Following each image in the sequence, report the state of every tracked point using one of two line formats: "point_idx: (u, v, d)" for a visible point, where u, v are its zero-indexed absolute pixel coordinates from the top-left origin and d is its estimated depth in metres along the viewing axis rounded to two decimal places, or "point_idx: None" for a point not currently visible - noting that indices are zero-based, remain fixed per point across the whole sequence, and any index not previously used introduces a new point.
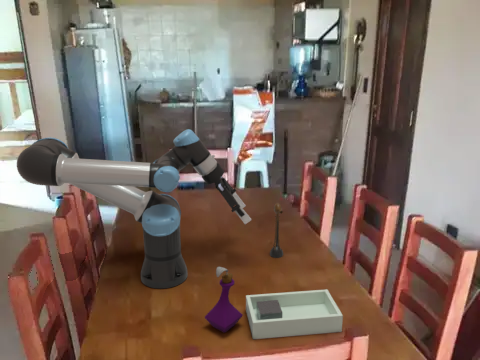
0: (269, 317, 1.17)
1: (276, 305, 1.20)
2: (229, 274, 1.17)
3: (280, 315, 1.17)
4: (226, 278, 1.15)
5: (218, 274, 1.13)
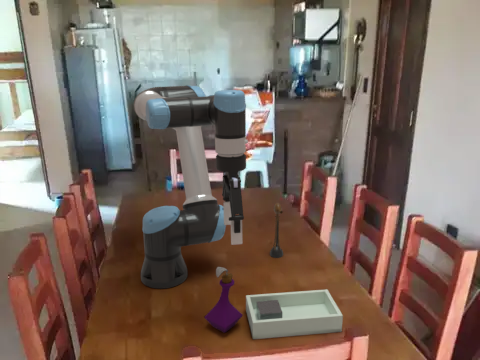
0: (269, 317, 1.17)
1: (276, 305, 1.20)
2: (229, 274, 1.17)
3: (280, 315, 1.17)
4: (226, 278, 1.15)
5: (218, 274, 1.13)
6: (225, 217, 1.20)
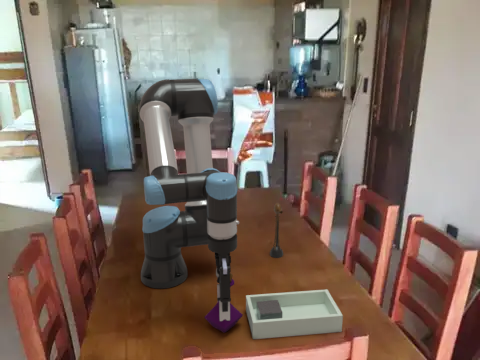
0: (269, 317, 1.17)
1: (276, 305, 1.20)
2: None
3: (280, 315, 1.17)
4: None
5: (218, 274, 1.13)
6: None
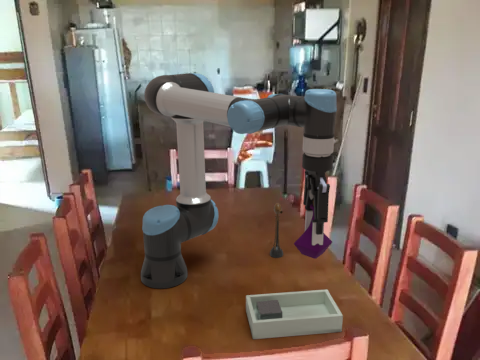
0: (269, 317, 1.17)
1: (276, 305, 1.20)
2: None
3: (280, 315, 1.17)
4: None
5: (312, 196, 1.10)
6: (307, 226, 1.17)
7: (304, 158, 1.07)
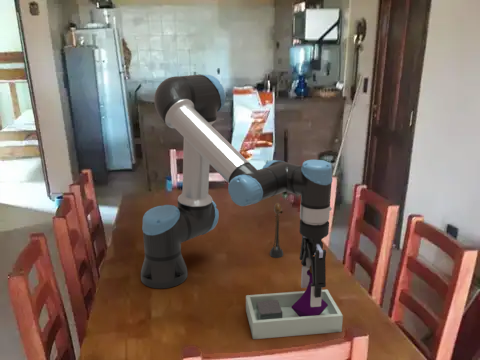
0: (269, 317, 1.17)
1: (276, 305, 1.20)
2: None
3: (280, 315, 1.17)
4: None
5: (308, 265, 1.16)
6: (303, 281, 1.24)
7: (301, 225, 1.13)
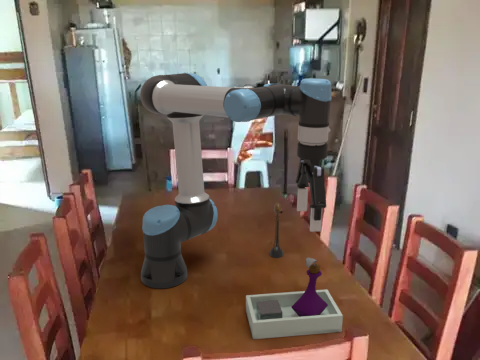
0: (269, 317, 1.17)
1: (276, 305, 1.20)
2: (316, 265, 1.19)
3: (280, 315, 1.17)
4: (314, 268, 1.18)
5: (308, 264, 1.16)
6: (299, 203, 1.22)
7: (299, 146, 1.09)
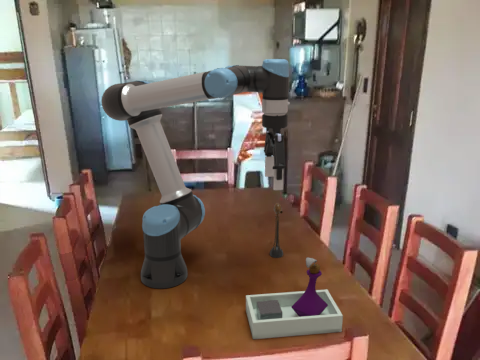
0: (269, 317, 1.17)
1: (276, 305, 1.20)
2: (316, 265, 1.19)
3: (280, 315, 1.17)
4: (314, 268, 1.18)
5: (308, 264, 1.16)
6: (266, 170, 1.40)
7: (263, 117, 1.27)
